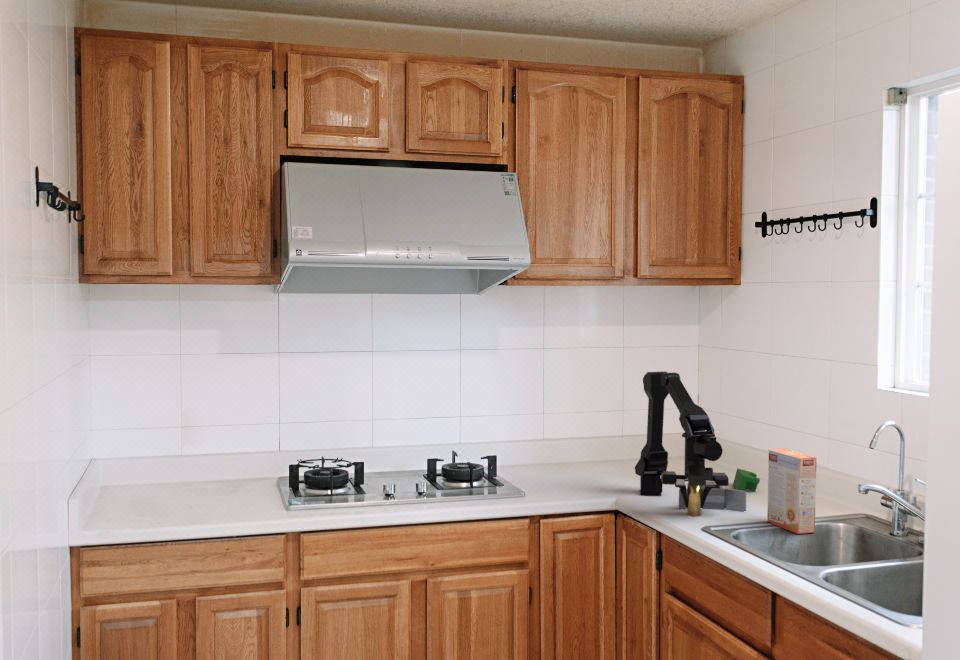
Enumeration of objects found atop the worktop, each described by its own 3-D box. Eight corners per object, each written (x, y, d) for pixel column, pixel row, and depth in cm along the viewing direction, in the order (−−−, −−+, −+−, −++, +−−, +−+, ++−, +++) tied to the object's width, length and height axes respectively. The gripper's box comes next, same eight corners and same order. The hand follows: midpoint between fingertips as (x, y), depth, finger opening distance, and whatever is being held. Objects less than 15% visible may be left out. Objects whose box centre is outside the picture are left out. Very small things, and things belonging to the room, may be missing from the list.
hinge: (679, 509, 268) (679, 489, 268) (676, 502, 277) (676, 482, 277) (746, 511, 265) (747, 491, 265) (741, 504, 275) (741, 484, 274)
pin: (687, 516, 261) (688, 485, 260) (686, 512, 265) (686, 482, 264) (701, 516, 260) (702, 485, 260) (700, 513, 264) (700, 482, 264)
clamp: (752, 505, 291) (760, 483, 287) (733, 500, 292) (742, 478, 287) (751, 484, 301) (759, 462, 297) (733, 479, 302) (741, 457, 298)
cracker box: (816, 533, 242) (817, 456, 241) (797, 535, 241) (798, 457, 240) (784, 520, 256) (786, 447, 255) (766, 522, 254) (767, 448, 253)
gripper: (664, 459, 255) (663, 513, 255) (732, 460, 252) (731, 515, 253) (661, 452, 266) (660, 504, 266) (726, 453, 263) (725, 506, 264)
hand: (694, 507), depth 262 cm, fingers closed on pin, 4 cm apart
